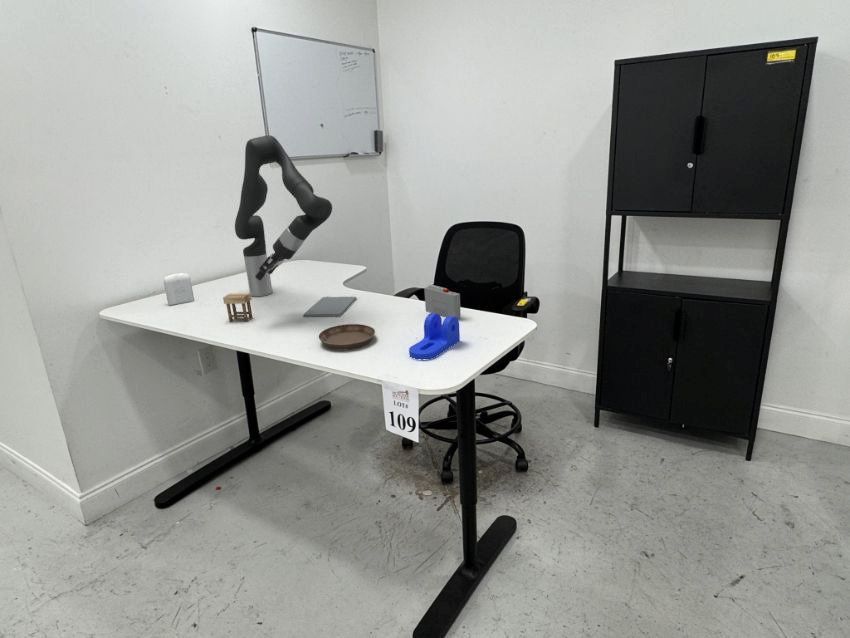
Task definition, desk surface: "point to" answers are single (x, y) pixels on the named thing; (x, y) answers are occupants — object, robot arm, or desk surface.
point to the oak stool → (238, 299)
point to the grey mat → (330, 307)
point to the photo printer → (178, 288)
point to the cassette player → (442, 301)
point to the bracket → (436, 337)
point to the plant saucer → (347, 336)
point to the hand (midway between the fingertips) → (263, 275)
